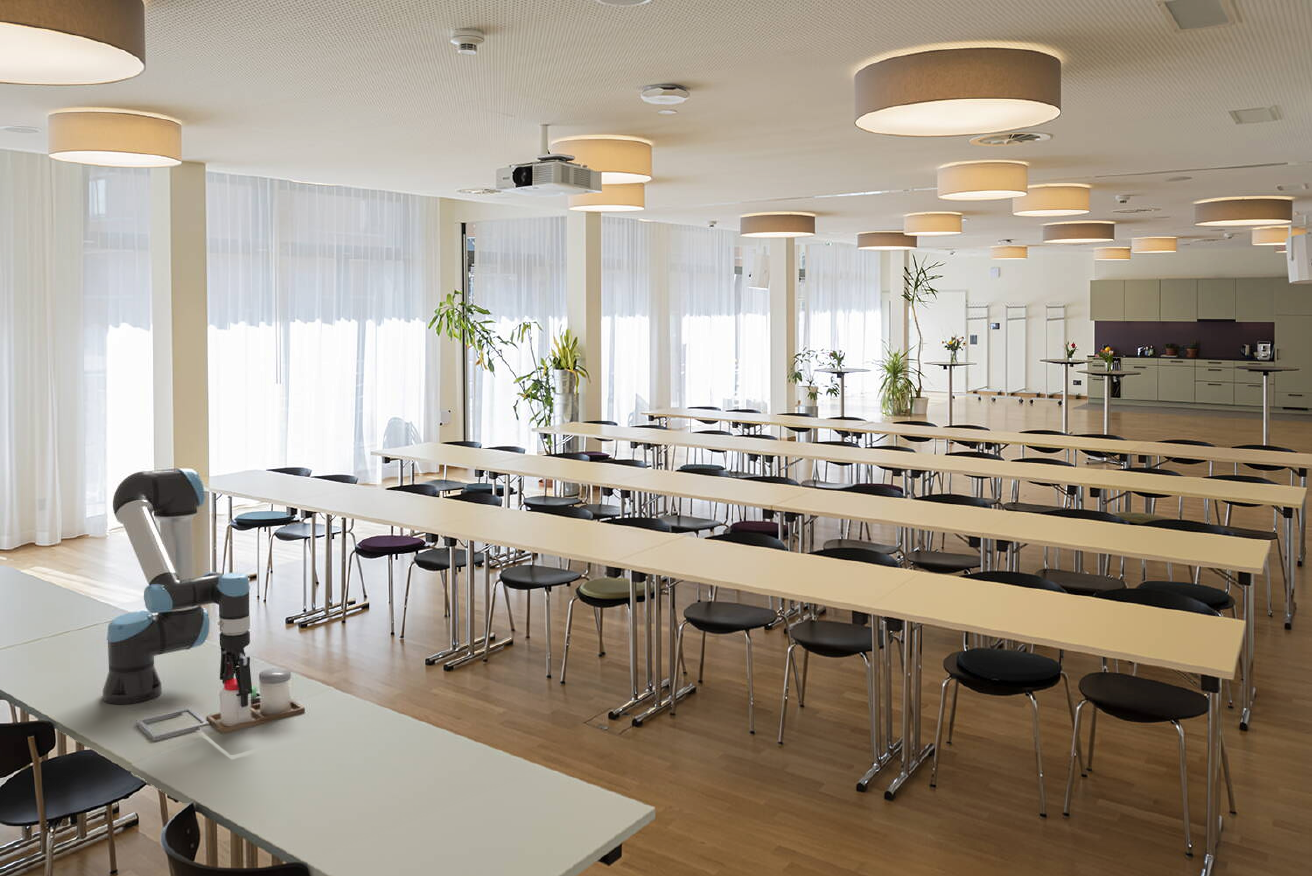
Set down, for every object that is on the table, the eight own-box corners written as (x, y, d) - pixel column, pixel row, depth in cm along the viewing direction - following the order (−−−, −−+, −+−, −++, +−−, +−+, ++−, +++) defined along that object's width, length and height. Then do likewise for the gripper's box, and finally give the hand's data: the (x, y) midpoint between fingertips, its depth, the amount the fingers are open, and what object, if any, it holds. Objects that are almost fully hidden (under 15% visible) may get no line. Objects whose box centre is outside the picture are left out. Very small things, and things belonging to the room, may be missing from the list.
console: (232, 705, 283) (231, 694, 282) (256, 699, 287) (256, 689, 287) (242, 712, 278) (241, 702, 277) (266, 706, 282) (266, 696, 282)
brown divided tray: (206, 723, 270) (206, 715, 269) (286, 702, 285) (286, 696, 285) (223, 736, 262) (222, 729, 261) (304, 714, 277) (304, 708, 277)
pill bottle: (240, 727, 265) (239, 687, 264) (214, 724, 267) (213, 685, 265) (257, 717, 273) (256, 678, 272) (232, 714, 274) (231, 675, 273)
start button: (239, 701, 282) (239, 688, 282) (253, 698, 285) (253, 685, 285) (245, 705, 280) (244, 692, 279) (259, 702, 282) (259, 688, 282)
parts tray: (136, 724, 267) (136, 720, 267) (190, 711, 277) (190, 707, 277) (154, 741, 257) (153, 736, 257) (209, 727, 267) (209, 722, 267)
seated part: (254, 710, 277) (254, 672, 276) (283, 703, 283) (282, 666, 282) (267, 719, 271) (266, 680, 270) (296, 711, 277) (295, 673, 276)
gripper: (205, 624, 272) (207, 704, 274) (236, 644, 257) (238, 728, 259) (233, 619, 277) (234, 697, 279) (265, 638, 262) (266, 720, 264)
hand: (236, 712), depth 269 cm, fingers open, 9 cm apart
